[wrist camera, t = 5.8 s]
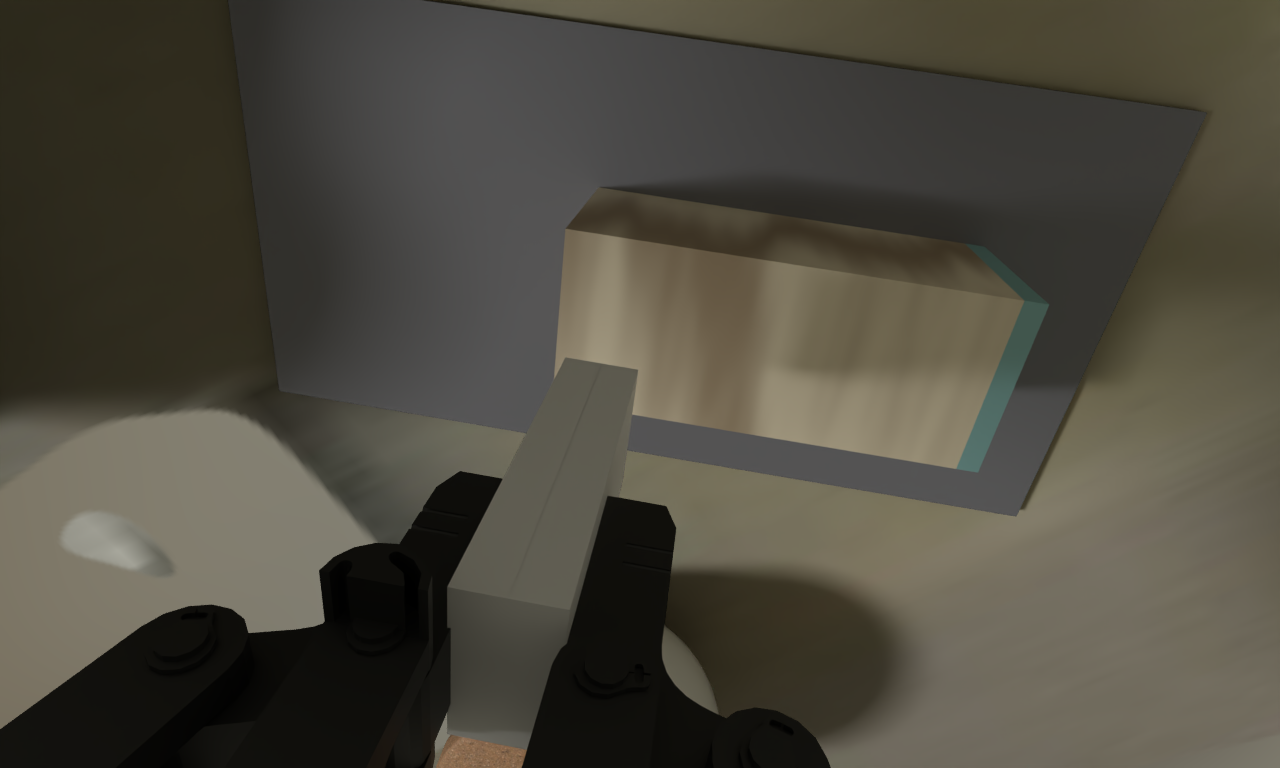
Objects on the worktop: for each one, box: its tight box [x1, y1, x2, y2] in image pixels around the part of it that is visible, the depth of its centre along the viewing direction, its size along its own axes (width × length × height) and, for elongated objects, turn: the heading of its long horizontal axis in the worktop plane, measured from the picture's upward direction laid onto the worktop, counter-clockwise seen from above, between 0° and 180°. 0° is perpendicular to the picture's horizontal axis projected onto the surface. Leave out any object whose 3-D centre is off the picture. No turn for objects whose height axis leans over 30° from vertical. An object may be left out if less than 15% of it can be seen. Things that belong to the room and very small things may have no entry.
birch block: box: [554, 187, 1049, 473], centre depth 21 cm, size 5×5×12 cm
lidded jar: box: [436, 624, 719, 768], centre depth 28 cm, size 11×11×9 cm
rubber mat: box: [228, 0, 1207, 516], centre depth 23 cm, size 28×14×1 cm, turn 83°
